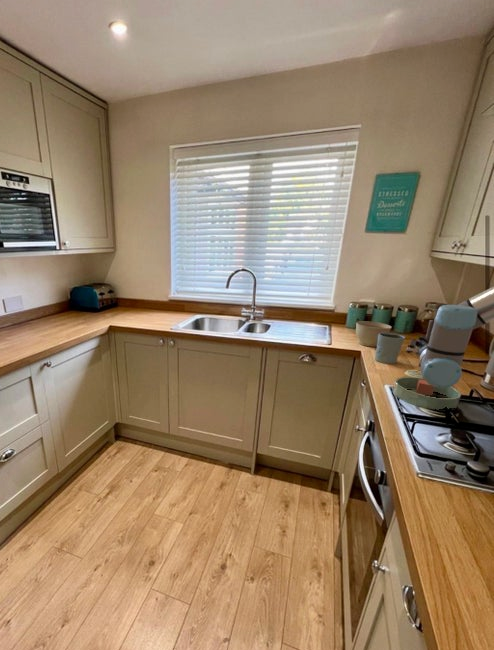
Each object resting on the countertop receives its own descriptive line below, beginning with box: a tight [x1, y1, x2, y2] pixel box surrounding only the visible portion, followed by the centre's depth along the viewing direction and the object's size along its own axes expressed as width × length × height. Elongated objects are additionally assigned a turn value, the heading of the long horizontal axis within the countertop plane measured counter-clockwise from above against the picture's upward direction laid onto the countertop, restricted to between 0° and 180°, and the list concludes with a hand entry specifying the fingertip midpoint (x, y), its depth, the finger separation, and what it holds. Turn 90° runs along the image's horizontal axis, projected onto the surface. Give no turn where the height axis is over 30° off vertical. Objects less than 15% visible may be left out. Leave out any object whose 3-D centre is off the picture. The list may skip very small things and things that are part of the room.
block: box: [416, 379, 435, 395], centre depth 115 cm, size 4×4×4 cm
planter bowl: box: [355, 320, 392, 348], centre depth 174 cm, size 16×16×11 cm
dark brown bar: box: [418, 319, 434, 368], centre depth 105 cm, size 3×3×15 cm
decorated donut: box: [403, 369, 423, 378], centre depth 127 cm, size 10×11×4 cm
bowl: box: [392, 376, 462, 411], centre depth 112 cm, size 18×18×4 cm
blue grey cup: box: [374, 332, 406, 365], centre depth 149 cm, size 10×10×12 cm
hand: (428, 339), depth 110 cm, fingers closed on dark brown bar, 3 cm apart
